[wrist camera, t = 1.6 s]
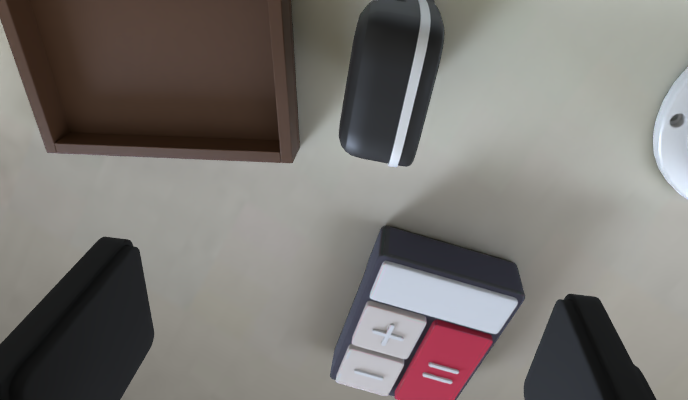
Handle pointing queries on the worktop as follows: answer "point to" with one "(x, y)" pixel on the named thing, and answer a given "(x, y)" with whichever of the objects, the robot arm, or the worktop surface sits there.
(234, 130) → the tray
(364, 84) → the battery charger
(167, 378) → the worktop surface
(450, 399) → the calculator
